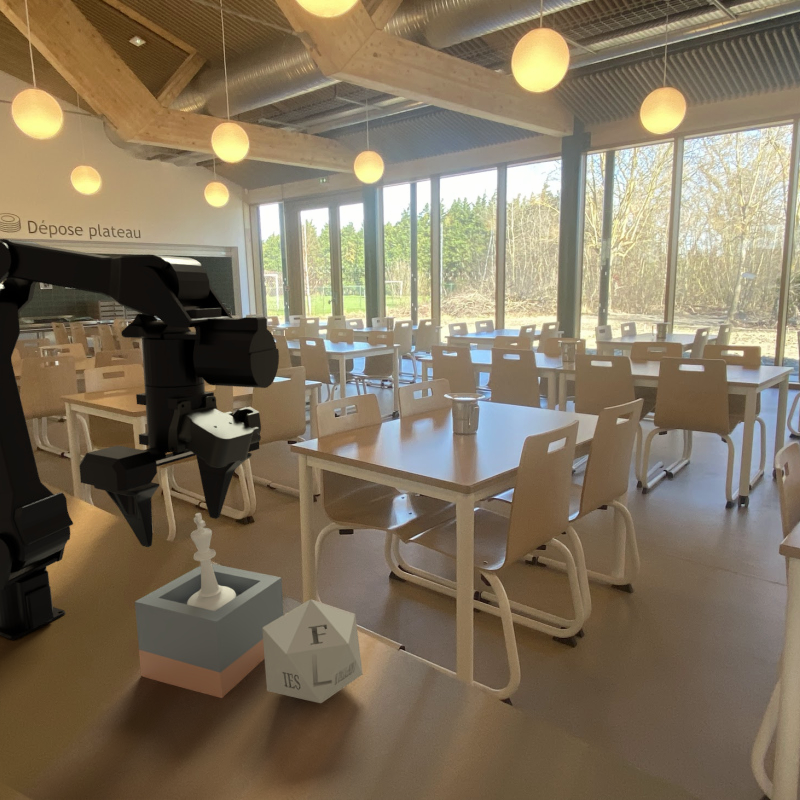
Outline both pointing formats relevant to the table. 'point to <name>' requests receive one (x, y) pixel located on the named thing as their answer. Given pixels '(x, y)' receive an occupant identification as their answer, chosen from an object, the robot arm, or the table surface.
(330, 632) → the die
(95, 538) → the table surface
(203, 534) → the chess piece
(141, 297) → the robot arm
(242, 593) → the grey planter box
